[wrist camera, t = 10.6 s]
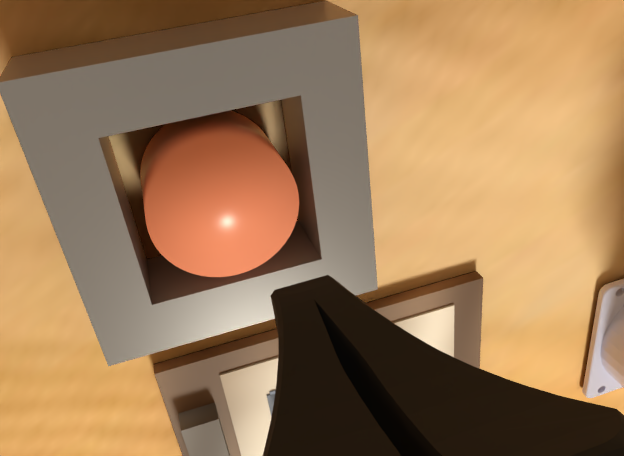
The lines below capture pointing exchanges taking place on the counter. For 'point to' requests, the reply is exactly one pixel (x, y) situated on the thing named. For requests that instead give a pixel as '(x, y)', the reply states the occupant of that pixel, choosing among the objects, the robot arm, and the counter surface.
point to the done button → (217, 195)
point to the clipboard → (264, 364)
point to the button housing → (181, 106)
